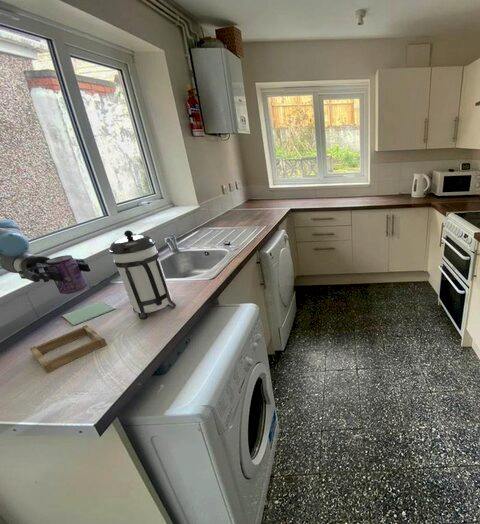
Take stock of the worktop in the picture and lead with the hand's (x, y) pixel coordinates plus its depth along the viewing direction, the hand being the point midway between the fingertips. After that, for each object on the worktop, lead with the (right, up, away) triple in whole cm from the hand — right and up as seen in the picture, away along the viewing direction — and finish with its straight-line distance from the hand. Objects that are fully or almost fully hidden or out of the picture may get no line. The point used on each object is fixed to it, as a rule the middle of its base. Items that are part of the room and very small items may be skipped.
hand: (74, 272), depth 94 cm
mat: (-5, -15, +11) cm, 19 cm away
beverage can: (-4, -7, +5) cm, 9 cm away
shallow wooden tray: (+7, -23, -9) cm, 26 cm away
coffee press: (+20, -14, +11) cm, 27 cm away
